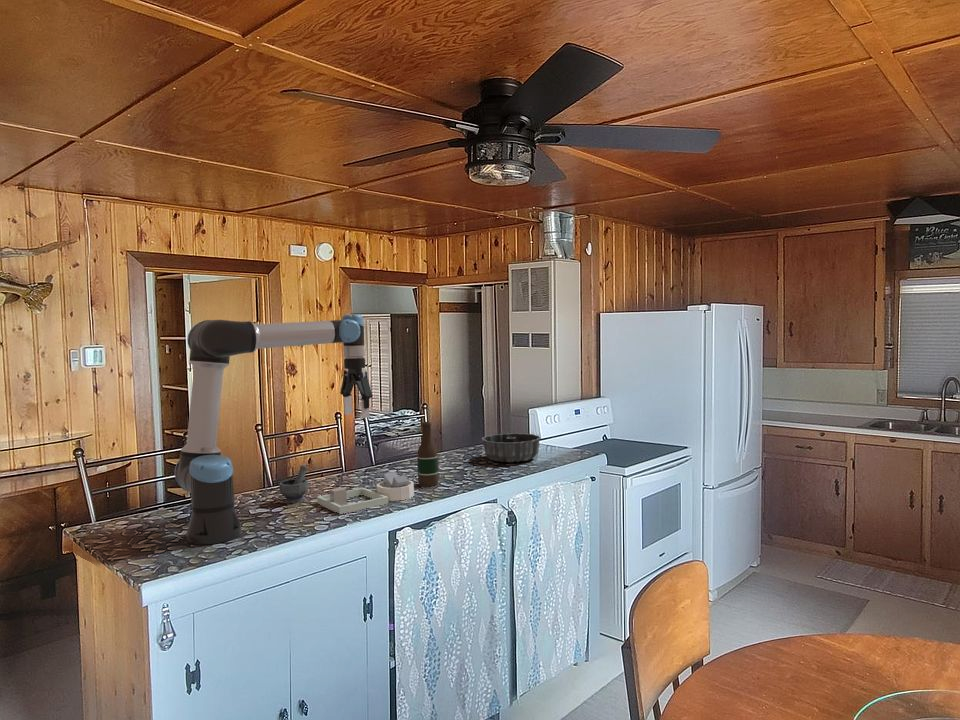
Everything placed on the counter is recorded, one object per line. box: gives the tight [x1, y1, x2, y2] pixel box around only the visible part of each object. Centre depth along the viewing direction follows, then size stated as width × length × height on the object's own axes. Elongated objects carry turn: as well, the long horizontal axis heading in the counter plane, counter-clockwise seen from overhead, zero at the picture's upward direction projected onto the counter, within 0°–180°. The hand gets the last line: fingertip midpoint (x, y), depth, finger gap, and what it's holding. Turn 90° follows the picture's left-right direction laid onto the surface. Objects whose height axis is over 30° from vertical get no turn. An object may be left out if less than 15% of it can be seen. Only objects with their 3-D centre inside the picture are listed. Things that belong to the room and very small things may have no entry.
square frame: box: [316, 487, 389, 515], centre depth 225 cm, size 18×18×2 cm
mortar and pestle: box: [278, 464, 309, 504], centre depth 231 cm, size 11×9×12 cm
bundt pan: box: [481, 432, 541, 463], centre depth 292 cm, size 26×26×10 cm
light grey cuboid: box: [382, 471, 399, 488], centre depth 235 cm, size 4×3×6 cm
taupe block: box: [329, 486, 348, 506], centre depth 222 cm, size 4×3×6 cm
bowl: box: [376, 479, 415, 502], centre depth 233 cm, size 13×13×4 cm
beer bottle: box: [416, 421, 439, 487], centre depth 249 cm, size 8×8×24 cm
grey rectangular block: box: [391, 474, 410, 488], centre depth 231 cm, size 4×3×6 cm
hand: (356, 416), depth 237 cm, fingers open, 13 cm apart
